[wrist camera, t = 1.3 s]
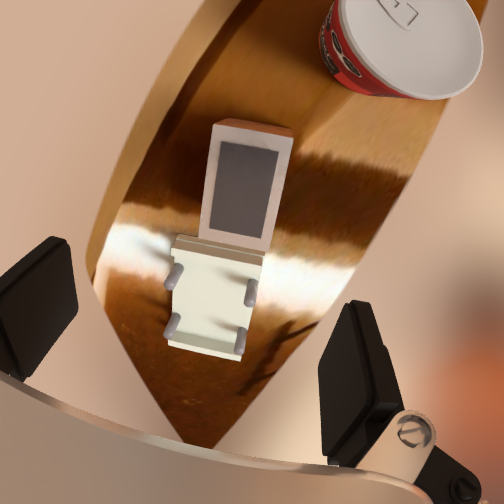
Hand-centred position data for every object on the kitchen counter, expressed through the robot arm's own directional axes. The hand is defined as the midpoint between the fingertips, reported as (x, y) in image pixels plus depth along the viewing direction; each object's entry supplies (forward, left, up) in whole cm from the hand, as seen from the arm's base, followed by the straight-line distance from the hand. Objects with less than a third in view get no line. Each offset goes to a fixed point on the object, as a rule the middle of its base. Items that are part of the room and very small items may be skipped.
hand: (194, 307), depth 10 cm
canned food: (-12, +7, -18) cm, 23 cm away
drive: (0, 0, -18) cm, 18 cm away
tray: (+13, -1, -18) cm, 22 cm away
